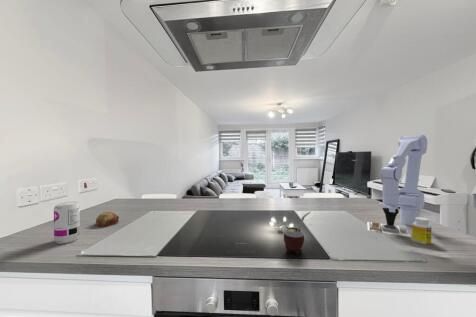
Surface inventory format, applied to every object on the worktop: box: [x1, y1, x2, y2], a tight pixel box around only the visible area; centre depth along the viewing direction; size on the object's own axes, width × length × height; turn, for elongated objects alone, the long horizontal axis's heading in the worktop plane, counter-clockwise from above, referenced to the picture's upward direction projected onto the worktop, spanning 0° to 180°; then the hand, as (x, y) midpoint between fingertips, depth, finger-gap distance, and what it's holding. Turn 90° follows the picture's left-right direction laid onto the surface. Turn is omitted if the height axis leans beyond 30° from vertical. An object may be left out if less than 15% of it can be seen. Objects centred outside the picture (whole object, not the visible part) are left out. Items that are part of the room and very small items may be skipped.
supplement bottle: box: [411, 216, 432, 245], centre depth 81 cm, size 6×6×10 cm
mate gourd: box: [283, 211, 311, 257], centre depth 75 cm, size 8×8×15 cm
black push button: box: [385, 223, 396, 229], centre depth 93 cm, size 3×3×2 cm
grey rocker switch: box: [398, 223, 408, 232], centre depth 91 cm, size 4×2×1 cm, turn 149°
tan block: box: [371, 220, 380, 230], centre depth 94 cm, size 3×2×3 cm
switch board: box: [366, 221, 412, 238], centre depth 95 cm, size 14×15×3 cm
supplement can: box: [53, 201, 81, 245], centre depth 86 cm, size 8×8×15 cm
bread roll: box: [94, 211, 120, 228], centre depth 107 cm, size 10×10×8 cm
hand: (390, 225), depth 92 cm, fingers closed, pressing on black push button
